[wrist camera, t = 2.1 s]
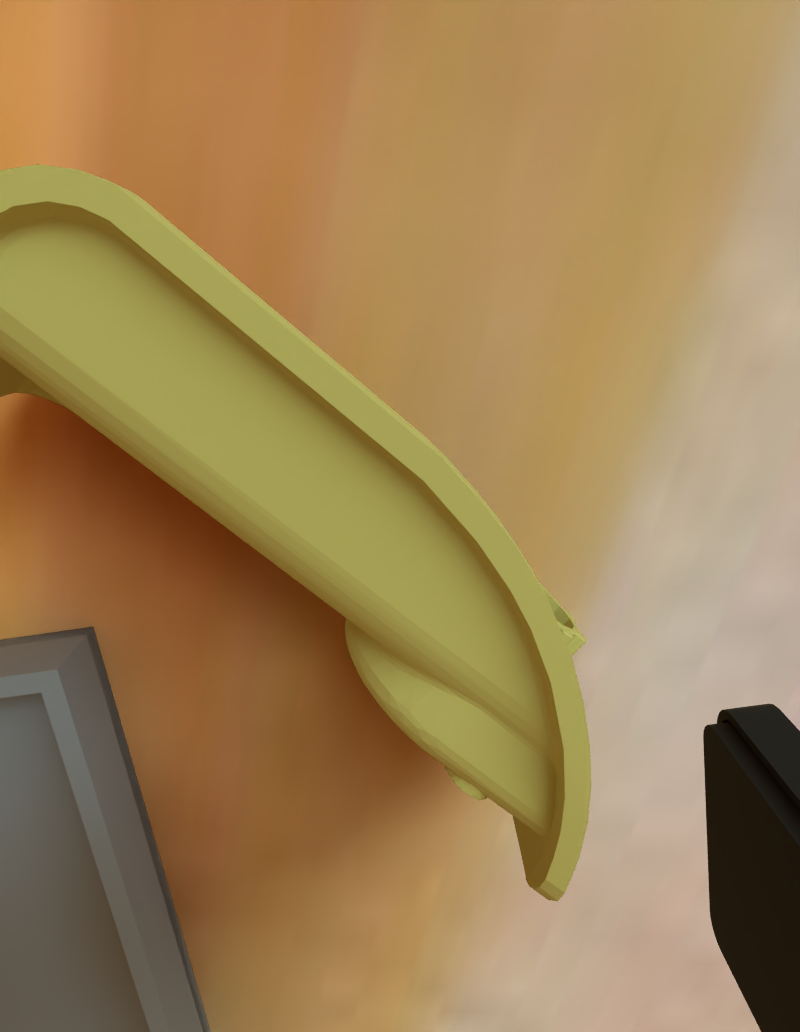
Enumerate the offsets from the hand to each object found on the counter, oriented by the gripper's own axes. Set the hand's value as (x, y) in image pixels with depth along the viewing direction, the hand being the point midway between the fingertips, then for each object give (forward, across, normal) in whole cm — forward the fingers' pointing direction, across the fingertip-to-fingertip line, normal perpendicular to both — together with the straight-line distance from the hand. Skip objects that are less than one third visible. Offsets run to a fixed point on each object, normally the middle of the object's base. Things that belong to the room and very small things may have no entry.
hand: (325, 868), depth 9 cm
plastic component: (+17, 0, -1) cm, 17 cm away
